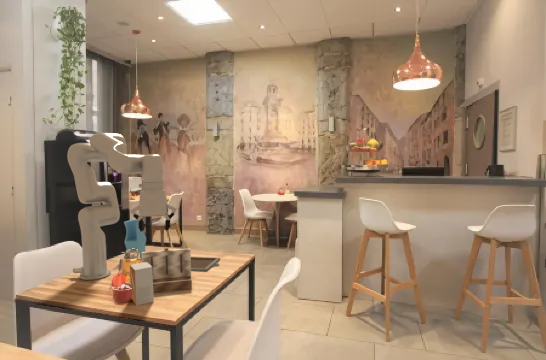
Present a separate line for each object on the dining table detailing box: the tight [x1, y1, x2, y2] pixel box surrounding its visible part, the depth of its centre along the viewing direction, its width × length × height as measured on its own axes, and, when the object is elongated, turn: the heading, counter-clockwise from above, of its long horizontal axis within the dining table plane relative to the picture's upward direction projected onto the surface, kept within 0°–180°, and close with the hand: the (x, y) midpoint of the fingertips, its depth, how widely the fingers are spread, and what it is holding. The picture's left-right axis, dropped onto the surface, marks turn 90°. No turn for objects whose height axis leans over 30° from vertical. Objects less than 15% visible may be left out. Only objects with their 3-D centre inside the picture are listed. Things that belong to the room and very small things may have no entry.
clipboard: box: [191, 256, 221, 272], centre depth 171 cm, size 19×2×30 cm
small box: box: [129, 262, 155, 307], centre depth 126 cm, size 8×6×13 cm
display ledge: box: [141, 247, 193, 294], centre depth 141 cm, size 20×15×14 cm
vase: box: [123, 219, 147, 260], centre depth 183 cm, size 8×8×20 cm
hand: (154, 230), depth 133 cm, fingers open, 9 cm apart
